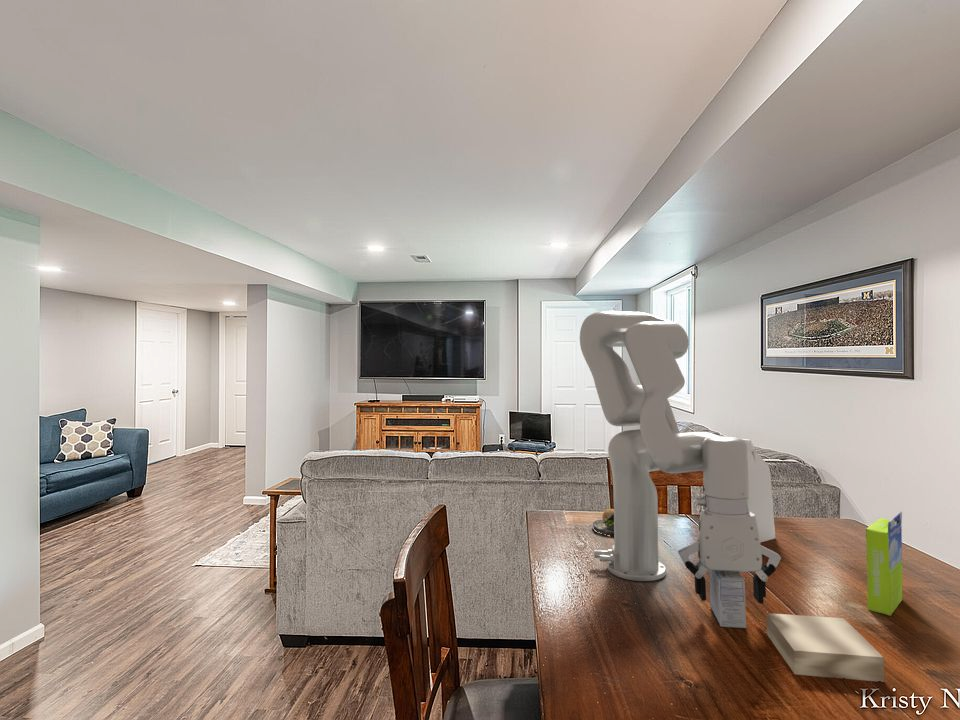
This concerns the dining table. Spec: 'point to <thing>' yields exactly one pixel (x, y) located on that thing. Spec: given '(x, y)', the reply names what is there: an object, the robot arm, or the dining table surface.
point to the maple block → (824, 647)
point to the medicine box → (728, 598)
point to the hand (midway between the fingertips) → (730, 599)
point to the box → (884, 564)
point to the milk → (760, 493)
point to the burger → (605, 523)
